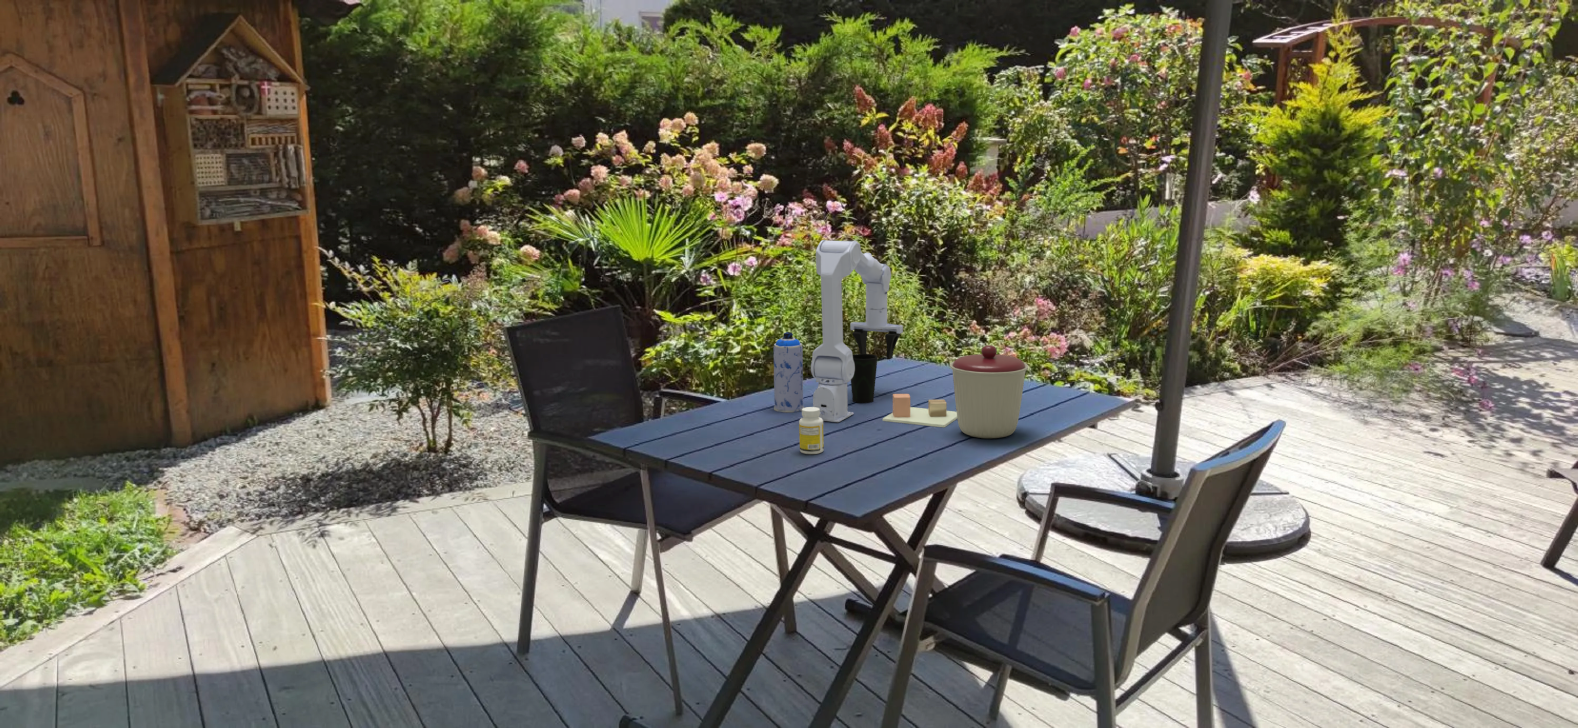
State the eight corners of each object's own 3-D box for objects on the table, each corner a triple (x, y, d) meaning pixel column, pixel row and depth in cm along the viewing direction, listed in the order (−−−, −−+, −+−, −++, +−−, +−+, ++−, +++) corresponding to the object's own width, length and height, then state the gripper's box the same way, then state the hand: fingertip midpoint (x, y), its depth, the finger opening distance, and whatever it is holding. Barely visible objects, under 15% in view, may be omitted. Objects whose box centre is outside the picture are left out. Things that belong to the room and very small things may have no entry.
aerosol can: (806, 411, 291) (805, 334, 287) (776, 413, 290) (774, 335, 286) (801, 404, 298) (800, 329, 294) (771, 406, 297) (770, 330, 293)
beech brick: (946, 416, 281) (946, 403, 280) (930, 416, 281) (930, 403, 280) (944, 412, 285) (944, 399, 284) (928, 412, 285) (928, 399, 284)
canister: (1026, 445, 257) (1029, 353, 253) (946, 441, 260) (947, 351, 256) (1026, 425, 274) (1028, 339, 270) (951, 422, 278) (952, 337, 274)
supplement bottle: (809, 446, 258) (809, 404, 256) (828, 450, 254) (828, 408, 252) (794, 452, 254) (794, 409, 252) (813, 456, 250) (813, 413, 248)
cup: (878, 404, 298) (878, 359, 295) (849, 404, 298) (848, 359, 296) (876, 397, 305) (876, 353, 303) (848, 397, 306) (848, 353, 303)
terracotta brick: (910, 417, 281) (910, 397, 280) (894, 417, 281) (894, 397, 280) (908, 413, 285) (908, 393, 284) (892, 413, 285) (892, 394, 284)
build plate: (944, 427, 273) (944, 425, 273) (882, 420, 280) (882, 418, 280) (962, 414, 285) (962, 412, 285) (903, 408, 292) (903, 406, 292)
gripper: (907, 307, 305) (906, 357, 307) (857, 304, 311) (857, 353, 314) (897, 311, 299) (897, 361, 301) (847, 308, 305) (847, 357, 308)
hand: (876, 357), depth 307 cm, fingers open, 7 cm apart
